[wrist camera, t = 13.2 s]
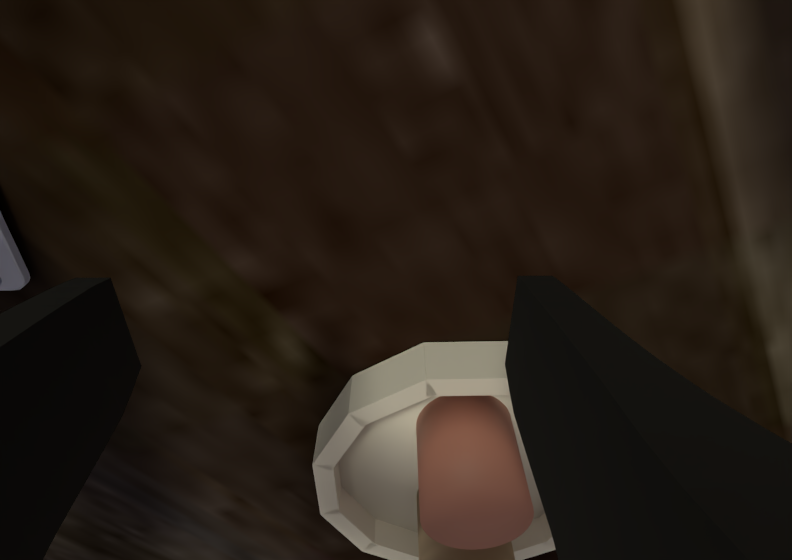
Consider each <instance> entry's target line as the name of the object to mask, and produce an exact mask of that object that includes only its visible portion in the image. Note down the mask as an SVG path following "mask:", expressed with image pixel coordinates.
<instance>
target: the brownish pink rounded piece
mask: <svg viewBox="0 0 792 560" xmlns="http://www.w3.org/2000/svg"><path fill="white" fill-rule="evenodd" d="M416 438H417V461H418V485H419V509H420V523H421V526H422V528H423V530H424V532H425V533H426V534H427V535H428V536H429V537H430V538H432V539H433V540H435V541H436V542H438V543H441V544H443V545H446V546H449V547H453V548H458V549H466V550H477V549H487V548H492V547H496V546H500V545H503V544H506V543H508V542H510V541H512V540H514V539H516V538H517V537H519V536H520V535H521V534H523V533H524V532H525V531H526V530H527V529H528V527H529V526H530V524H531V522H532V520H533V517H534V509H533V504H532V500H531V496H530V492H529V488H528V484H527V480H526V476H525V472H524V468H523V464H522V460H521V456H520V452H519V448H518V444H517V440H516V436H515V432H514V428H513V424H512V420H511V416H510V413H509V411H508V409H507V407H506V406H505V405H504V404H503V403H502V402H501V401H500V400H498V399H497V398H495V397H493V396H491V395H486V396H440V397H438V398H436V399H434V400H432V401H431V402H430V403H428V404H427V405H426V406H425V407H424V408H423V409H422V411H421V412H420V414H419V416H418V418H417V422H416Z"/></svg>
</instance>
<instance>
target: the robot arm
mask: <svg viewBox="0 0 792 560" xmlns="http://www.w3.org/2000/svg"><path fill="white" fill-rule="evenodd" d="M0 278H1V279H0V291H11V290H20V289H21V288H23V287H24V286H25V285H26V284H27V283H28V282H29V281H30V274H29V271H28V269H27V267H26V265H25V263H24V261H23V259H22V256H21V254H20V252H19V250H18V248H17V246H16V244H15V242H14V239H13V237H12V235H11V233H10V231H9V229H8V227H7V225H6V222H5V220H4V218H3V216H2V214H1V212H0ZM140 368H141V364H140V361H139V358H138V356H137V353H136V350H135V347H134V344H133V341H132V338H131V335H130V333H129V330H128V327H127V324H126V321H125V318H124V315H123V312H122V310H121V307H120V304H119V301H118V298H117V295H116V292H115V289H114V287H113V284H112V281H111V278H75V279H72V280H70V281H67V282H64V283H62V284H60V285H57V286H55V287H53V288H51V289H49V290H46V291H44V292H42V293H40V294H38V295H36V296H34V297H32V298H30V299H28V300H26V301H24V302H22V303H20V304H18V305H16V306H14V307H12V308H10V309H8V310H6V311H5V312H3V313H1V314H0V560H43V558H44V556H45V554H46V552H47V550H48V548H49V546H50V544H51V542H52V540H53V538H54V537H55V535H56V533H57V531H58V529H59V527H60V526H61V524H62V522H63V520H64V519H65V517H66V515H67V513H68V512H69V510H70V508H71V506H72V505H73V503H74V501H75V499H76V497H77V496H78V494H79V492H80V490H81V489H82V487H83V485H84V483H85V482H86V480H87V478H88V476H89V475H90V473H91V471H92V469H93V468H94V466H95V464H96V462H97V461H98V459H99V457H100V455H101V453H102V452H103V450H104V448H105V446H106V444H107V443H108V441H109V439H110V437H111V435H112V434H113V432H114V430H115V428H116V426H117V424H118V422H119V421H120V419H121V417H122V415H123V412H124V410H125V407H126V405H127V403H128V400H129V398H130V395H131V393H132V390H133V387H134V384H135V382H136V379H137V376H138V373H139V371H140ZM505 368H506V374H507V380H508V386H509V392H510V397H511V402H512V407H513V413H514V416H515V419H516V423H517V426H518V429H519V432H520V436H521V439H522V442H523V445H524V448H525V452H526V455H527V458H528V461H529V464H530V467H531V471H532V474H533V477H534V480H535V483H536V486H537V489H538V492H539V496H540V499H541V502H542V505H543V508H544V511H545V514H546V518H547V521H548V524H549V527H550V530H551V534H552V538H553V541H554V545H555V548H556V552H557V556H558V560H792V443H790V442H788V441H786V440H784V439H783V438H781V437H779V436H777V435H776V434H774V433H772V432H770V431H769V430H767V429H765V428H763V427H762V426H760V425H759V424H757V423H755V422H754V421H752V420H750V419H749V418H747V417H745V416H744V415H742V414H740V413H739V412H737V411H735V410H734V409H732V408H730V407H729V406H727V405H726V404H724V403H722V402H721V401H719V400H717V399H716V398H714V397H713V396H711V395H710V394H708V393H707V392H705V391H704V390H702V389H700V388H699V387H697V386H696V385H694V384H693V383H692V382H690V381H689V380H687V379H686V378H684V377H683V376H682V375H680V374H679V373H677V372H676V371H674V370H673V369H672V368H670V367H669V366H667V365H666V364H664V363H663V362H662V361H660V360H659V359H657V358H656V357H655V356H653V355H652V354H651V353H649V352H648V351H647V350H645V349H644V348H643V347H641V346H640V345H639V344H637V343H636V342H635V341H633V340H632V339H631V338H630V337H628V336H627V335H626V334H624V333H623V332H622V331H621V330H619V329H618V328H617V327H616V326H614V325H613V324H612V323H611V322H609V321H608V320H607V319H606V318H604V317H603V316H602V315H601V314H599V313H598V312H597V311H596V310H595V309H593V308H592V307H591V306H590V305H589V304H587V303H586V302H585V301H584V300H582V299H581V298H580V297H579V296H578V295H576V294H575V293H574V292H573V291H571V290H570V289H569V288H568V287H566V286H565V285H564V284H563V283H561V282H560V281H559V280H557V279H556V278H555V277H553V276H518V279H517V285H516V292H515V299H514V305H513V312H512V319H511V326H510V332H509V339H508V346H507V353H506V359H505Z"/></svg>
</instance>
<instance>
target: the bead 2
mask: <svg viewBox="0 0 792 560" xmlns="http://www.w3.org/2000/svg"><path fill="white" fill-rule="evenodd" d="M417 522H418V548H419V560H515V557H514V551H513V546H512V541H510V542H508V543H506V544H503V545H500V546H496V547H492V548H487V549H477V550H466V549H458V548H453V547H449V546H446V545H443V544H441V543H438V542H436V541H435V540H433V539H432V538H430V537H429V536H428V535H427V534H426V533H425V532H424V530H423V528H422V526H421V523H420V509H419V489H418V491H417Z"/></svg>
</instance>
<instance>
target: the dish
mask: <svg viewBox="0 0 792 560" xmlns="http://www.w3.org/2000/svg"><path fill="white" fill-rule="evenodd" d="M507 346H508V341H482V342H424V343H421V344H419V345H417V346H415V347H413V348H411V349H408V350H406V351H404V352H402V353H400V354H398V355H396V356H393V357H391V358H389V359H387V360H385V361H383V362H380V363H378V364H376V365H374V366H372V367H370V368H368V369H365V370H363V371H361V372H359V373H357V374H355V375H353V376H352V377H351V378H350V380H349V381H348V383H347V384H346V386H345V387H344V389H343V390H342V392H341V393H340V395H339V396H338V398H337V399H336V401H335V402H334V404H333V405H332V406H331V408H330V409H329V411H328V412H327V414H326V415H325V417H324V418H323V420H322V421H321V423H320V424H319V427H318V433H317V440H316V446H315V452H314V458H313V464H312V466H313V472H314V478H315V484H316V490H317V497H318V503H319V509H320V515H321V516H323V517H324V518H325V519H326V520H327V521H328V522H329V523H331V524H332V525H333V526H334V527H335V528H336V529H337V530H338V531H340V532H341V533H342V534H343V535H344V536H345V537H346V538H348V539H349V540H350V541H351V542H352V543H353V544H354V545H355V546H357V547H358V548H359V549H360V550H361V551H363V552H366V553H369V554H372V555H376V556H379V557H382V558H386V559H389V560H419V548H418V522H417V491H418V489H419V485H418V461H417V438H416V422H417V418H418V416H419V414H420V412H421V411H422V409H423V408H424V407H425V406H426V405H427V404H428V403H430V402H431V401H432V400H434V399H436V398H438V397H440V396H486V395H491V396H493V397H495V398H497V399H498V400H500V401H501V402H502V403H503V404H504V405H505V406H506V407H507V409H508V411H509V413H510V416H511V420H512V424H513V428H514V432H515V436H516V440H517V444H518V448H519V452H520V456H521V460H522V464H523V468H524V472H525V476H526V480H527V484H528V488H529V492H530V496H531V500H532V504H533V509H534V517H533V520H532V522H531V524H530V526H529V527H528V529H527V530H526V531H525V532H524V533H523V534H521V535H520V536H519V537H517V538H516V539H514V540H512V546H513V551H514V557H515V560H524V559H527V558H530V557H534V556H537V555H540V554H543V553H546V552H550V551H553V550H556V548H555V545H554V541H553V538H552V534H551V530H550V527H549V524H548V521H547V518H546V514H545V511H544V508H543V505H542V502H541V499H540V496H539V492H538V489H537V486H536V483H535V480H534V477H533V474H532V471H531V467H530V464H529V461H528V458H527V455H526V452H525V448H524V445H523V442H522V439H521V436H520V432H519V429H518V426H517V423H516V419H515V416H514V413H513V407H512V402H511V397H510V392H509V386H508V380H507V374H506V368H505V359H506V353H507Z"/></svg>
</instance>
